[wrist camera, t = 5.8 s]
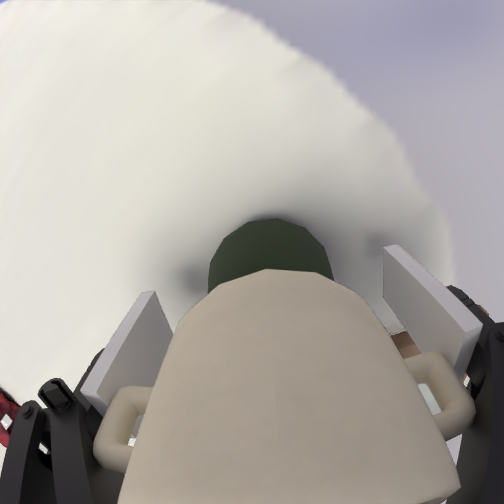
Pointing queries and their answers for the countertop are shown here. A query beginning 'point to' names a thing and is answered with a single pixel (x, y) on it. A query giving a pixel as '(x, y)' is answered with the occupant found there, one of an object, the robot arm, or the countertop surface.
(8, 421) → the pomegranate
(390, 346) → the character mug
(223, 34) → the countertop surface
